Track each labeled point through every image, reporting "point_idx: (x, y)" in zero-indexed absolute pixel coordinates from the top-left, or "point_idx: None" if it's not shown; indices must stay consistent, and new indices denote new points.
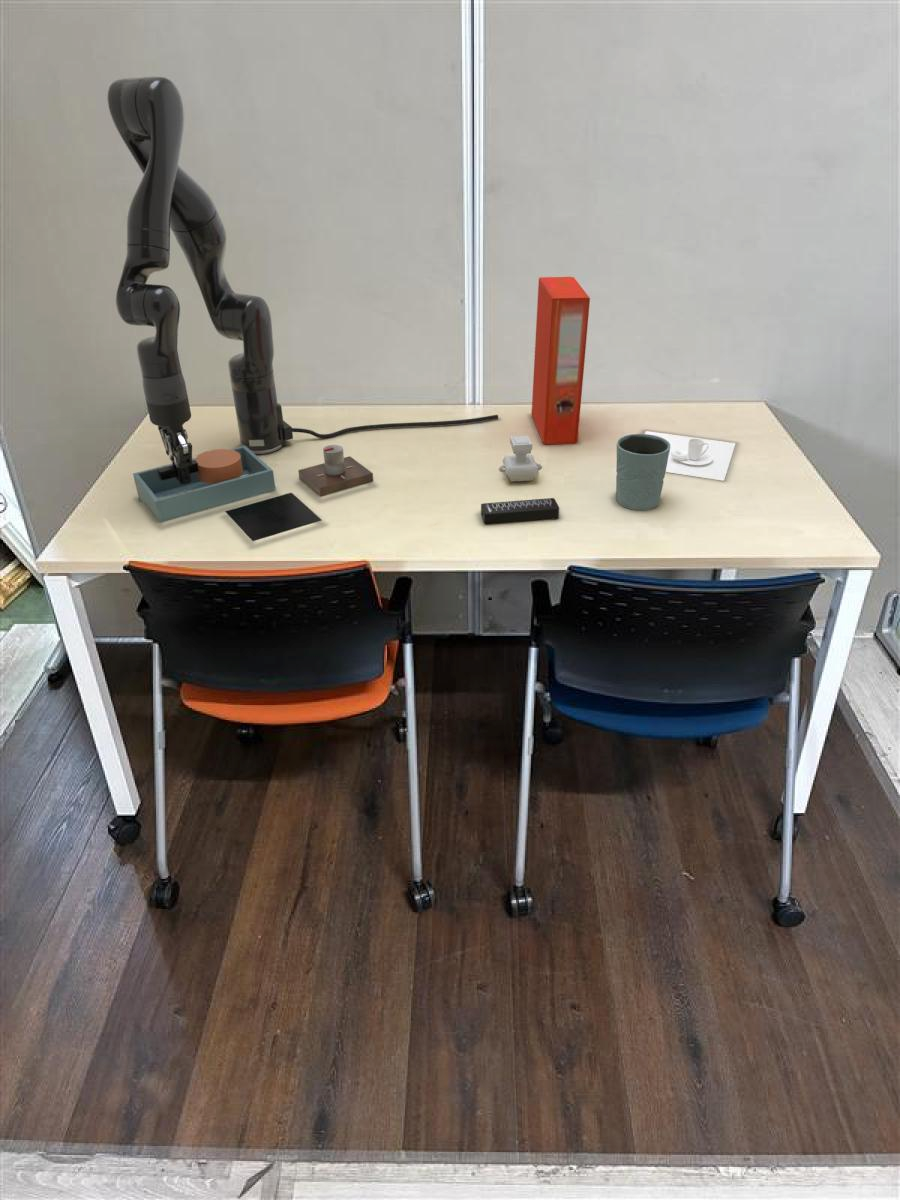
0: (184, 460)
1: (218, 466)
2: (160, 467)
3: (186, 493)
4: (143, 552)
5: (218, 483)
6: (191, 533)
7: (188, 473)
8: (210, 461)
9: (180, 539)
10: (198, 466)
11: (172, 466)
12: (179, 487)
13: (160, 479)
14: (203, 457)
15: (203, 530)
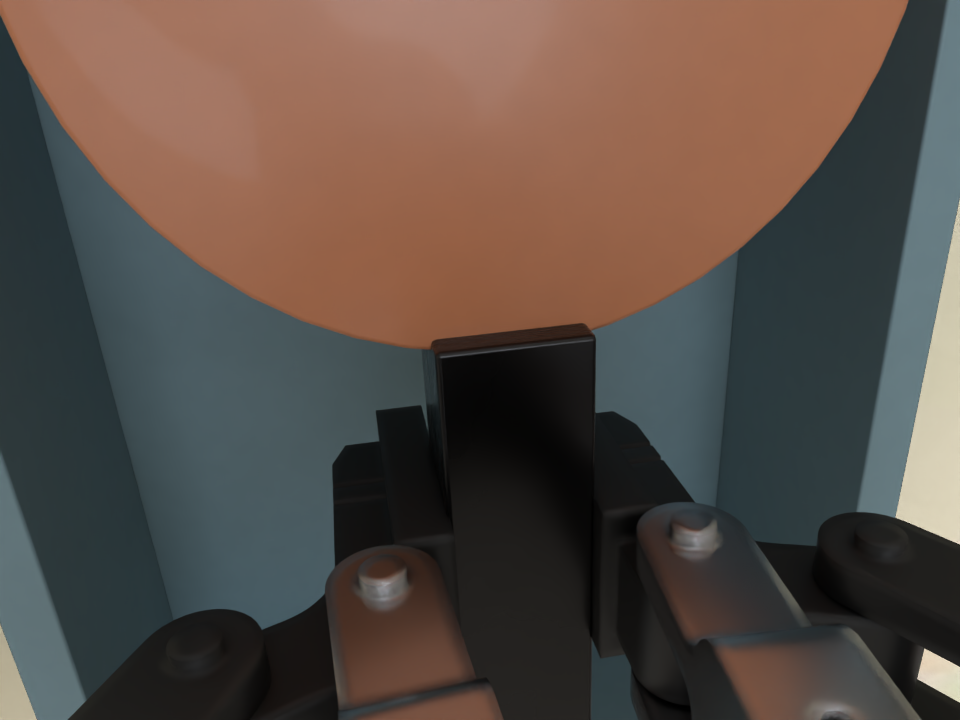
0: (908, 669)
1: (871, 22)
2: (52, 666)
3: (895, 499)
4: (926, 676)
5: (945, 116)
6: (930, 410)
7: (664, 467)
8: (577, 91)
9: (948, 485)
10: (602, 320)
11: (506, 675)
12: (117, 362)
13: (114, 589)
14: (322, 162)
15: (954, 327)
